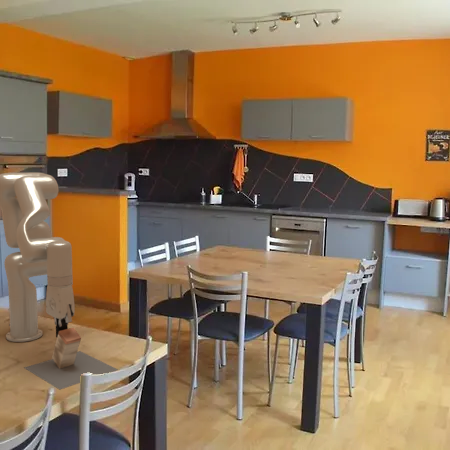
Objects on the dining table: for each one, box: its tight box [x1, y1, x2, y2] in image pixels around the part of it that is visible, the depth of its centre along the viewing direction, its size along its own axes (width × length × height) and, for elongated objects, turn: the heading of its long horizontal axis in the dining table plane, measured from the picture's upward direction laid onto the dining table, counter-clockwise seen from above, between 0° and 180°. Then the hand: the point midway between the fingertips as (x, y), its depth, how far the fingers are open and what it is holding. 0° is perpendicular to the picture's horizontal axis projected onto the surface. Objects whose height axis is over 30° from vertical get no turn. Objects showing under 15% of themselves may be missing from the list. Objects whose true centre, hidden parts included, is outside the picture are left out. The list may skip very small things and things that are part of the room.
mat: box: [23, 350, 119, 391], centre depth 167 cm, size 22×20×1 cm
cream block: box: [51, 327, 82, 369], centre depth 167 cm, size 5×5×11 cm
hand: (61, 337), depth 169 cm, fingers closed
